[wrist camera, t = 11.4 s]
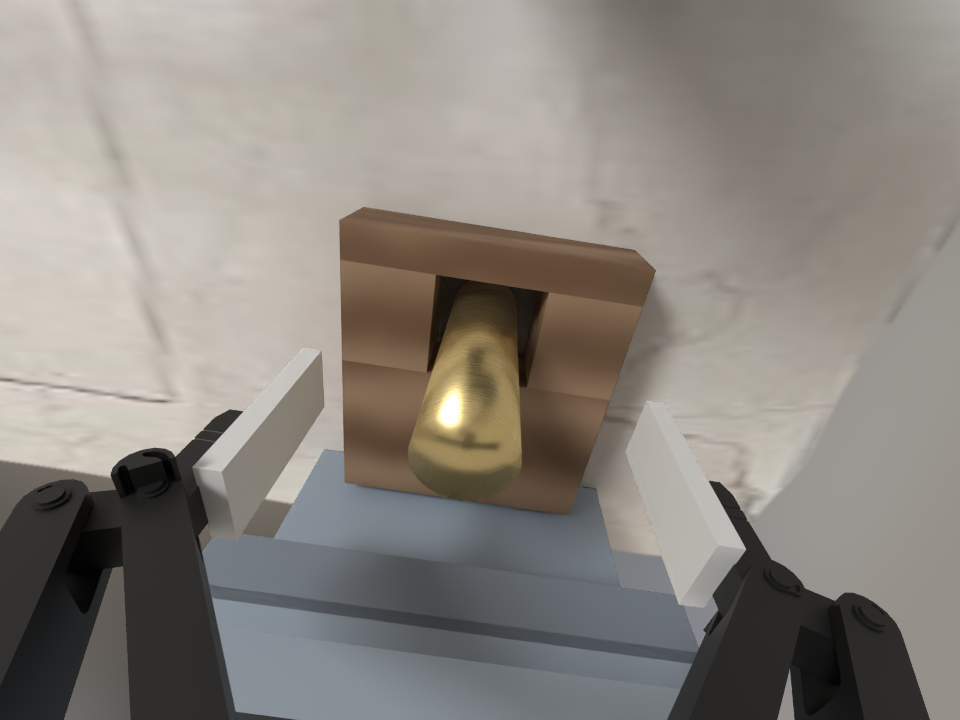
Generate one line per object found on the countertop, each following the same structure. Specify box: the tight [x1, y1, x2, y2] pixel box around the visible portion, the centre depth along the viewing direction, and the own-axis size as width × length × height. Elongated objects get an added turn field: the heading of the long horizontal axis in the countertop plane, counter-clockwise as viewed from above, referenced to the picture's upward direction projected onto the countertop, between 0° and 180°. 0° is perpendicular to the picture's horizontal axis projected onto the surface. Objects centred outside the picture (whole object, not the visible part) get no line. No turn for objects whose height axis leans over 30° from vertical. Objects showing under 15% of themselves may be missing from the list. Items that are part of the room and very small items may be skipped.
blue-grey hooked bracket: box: [202, 450, 699, 720], centre depth 25 cm, size 7×22×16 cm, turn 82°
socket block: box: [339, 207, 656, 515], centre depth 27 cm, size 18×16×4 cm
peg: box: [408, 280, 522, 501], centre depth 21 cm, size 4×4×14 cm
